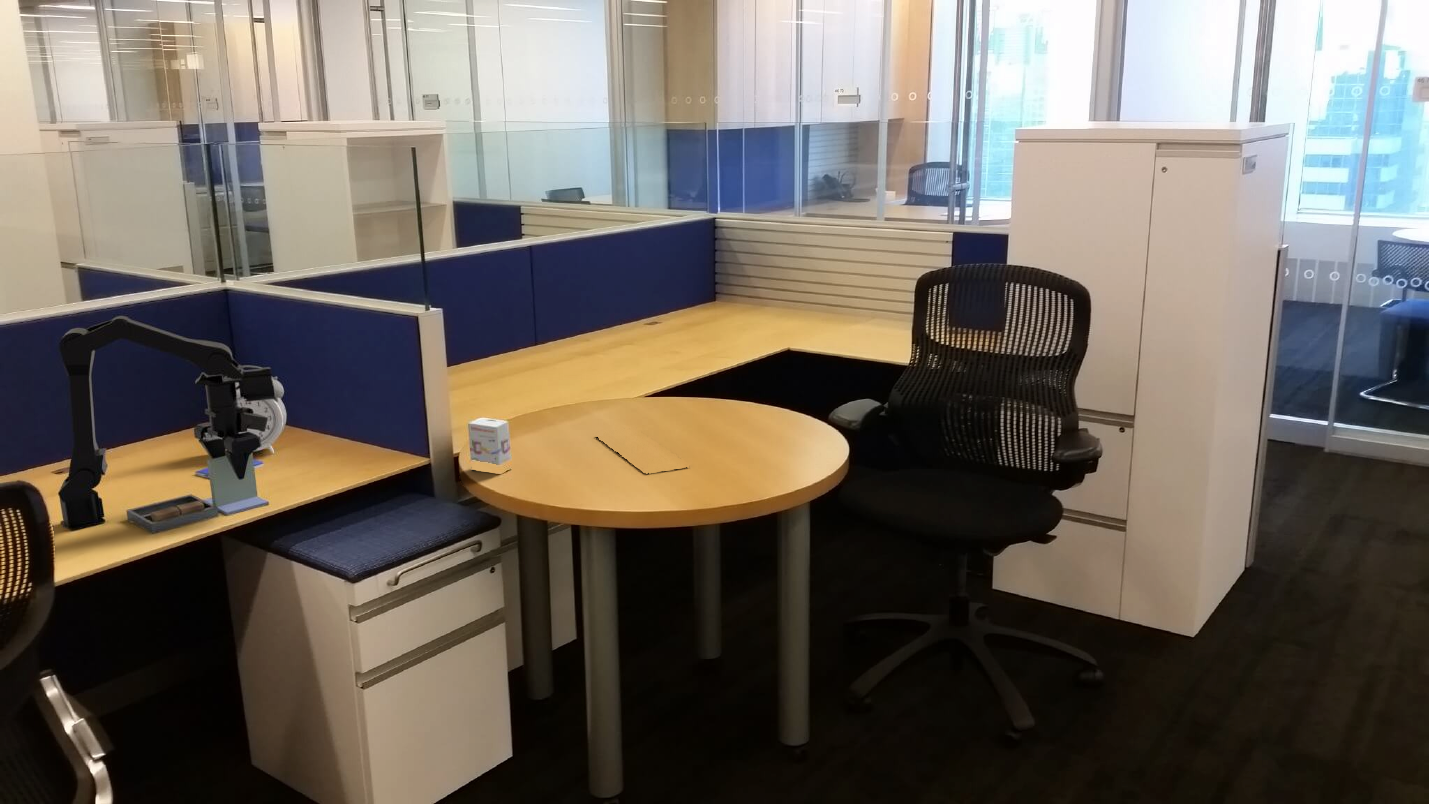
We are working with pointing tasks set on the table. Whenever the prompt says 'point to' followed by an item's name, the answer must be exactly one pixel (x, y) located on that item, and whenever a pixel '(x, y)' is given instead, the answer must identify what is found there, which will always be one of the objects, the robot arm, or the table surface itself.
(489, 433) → the ink box
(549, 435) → the table surface
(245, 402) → the alarm clock
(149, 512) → the rack
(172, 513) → the offcut
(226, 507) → the mat
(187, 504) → the offcut
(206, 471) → the hard drive
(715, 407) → the table surface
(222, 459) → the green upright panel
